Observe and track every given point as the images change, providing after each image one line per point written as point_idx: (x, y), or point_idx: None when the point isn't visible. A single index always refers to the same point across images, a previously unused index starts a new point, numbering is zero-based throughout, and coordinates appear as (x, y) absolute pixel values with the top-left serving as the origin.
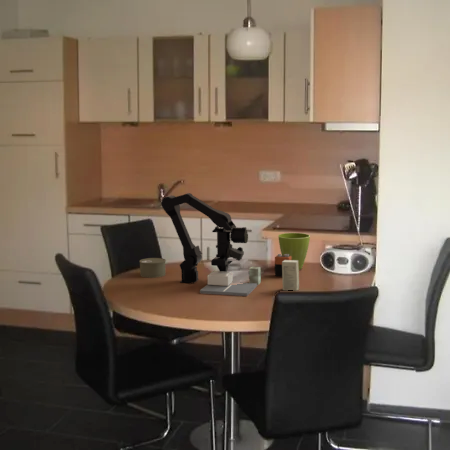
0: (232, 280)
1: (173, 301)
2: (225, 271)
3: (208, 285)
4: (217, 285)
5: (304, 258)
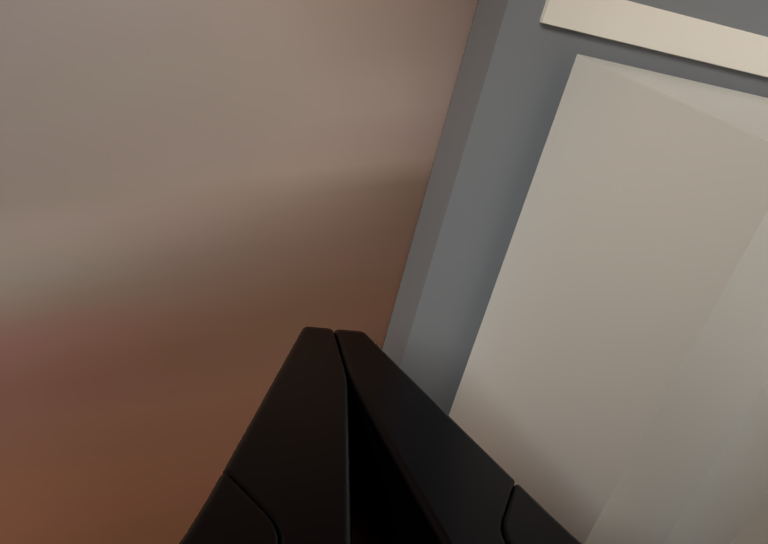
0: (607, 66)
1: None
2: (504, 484)
3: None
4: None
5: None
